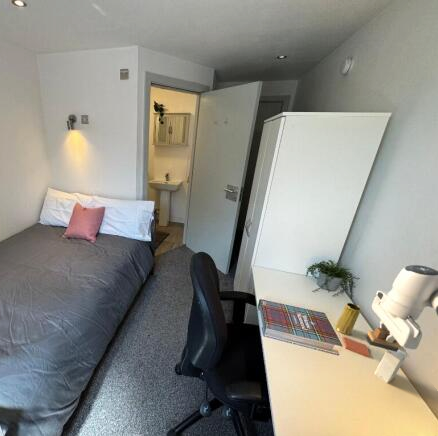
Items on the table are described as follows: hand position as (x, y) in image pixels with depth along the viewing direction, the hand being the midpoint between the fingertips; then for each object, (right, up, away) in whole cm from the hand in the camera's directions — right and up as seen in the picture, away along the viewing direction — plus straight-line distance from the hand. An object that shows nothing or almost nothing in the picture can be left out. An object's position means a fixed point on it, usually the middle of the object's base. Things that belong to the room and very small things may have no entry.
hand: (385, 336), depth 85 cm
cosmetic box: (+4, -18, +5) cm, 19 cm away
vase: (+6, -10, +25) cm, 28 cm away
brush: (0, -4, +1) cm, 4 cm away
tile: (+3, -13, +16) cm, 21 cm away
